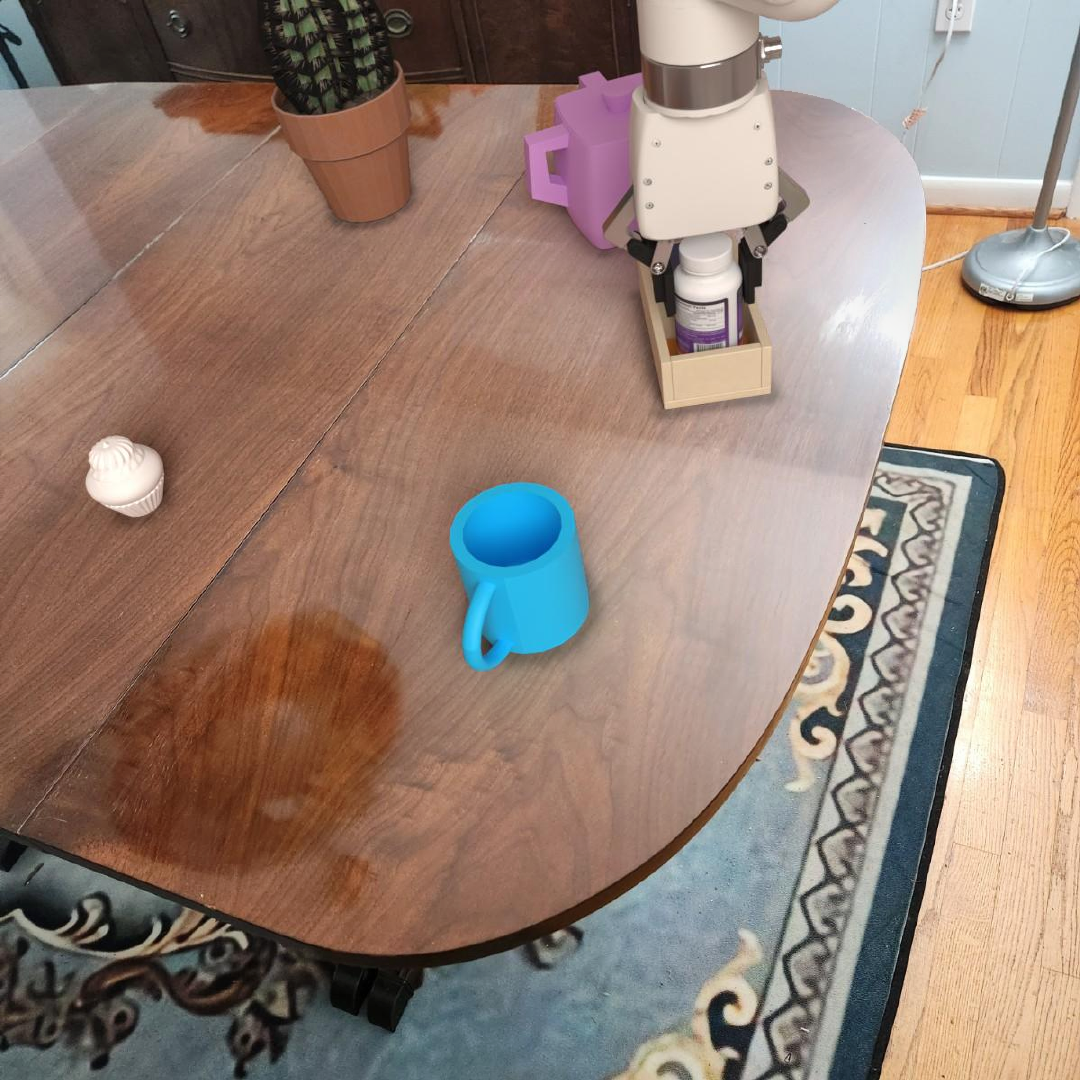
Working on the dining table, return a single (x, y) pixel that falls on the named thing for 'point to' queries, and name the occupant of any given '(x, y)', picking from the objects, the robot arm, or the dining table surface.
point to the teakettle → (585, 153)
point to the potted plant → (340, 101)
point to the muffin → (125, 476)
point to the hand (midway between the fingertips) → (707, 298)
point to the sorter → (706, 355)
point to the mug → (518, 572)
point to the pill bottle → (708, 294)
